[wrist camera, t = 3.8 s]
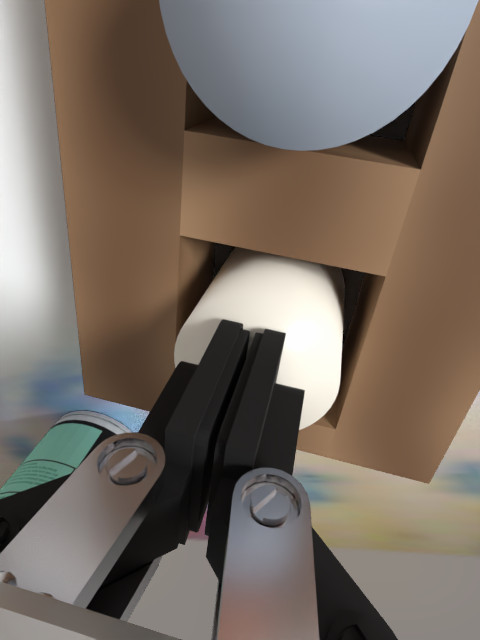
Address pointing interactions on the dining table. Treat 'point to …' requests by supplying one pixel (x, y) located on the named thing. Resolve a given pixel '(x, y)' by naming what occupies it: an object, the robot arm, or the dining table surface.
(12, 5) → the dining table surface
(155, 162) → the wooden egg holder
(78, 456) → the spray can
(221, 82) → the blue-grey egg
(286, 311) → the cream cylinder
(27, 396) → the dining table surface
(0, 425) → the dining table surface
